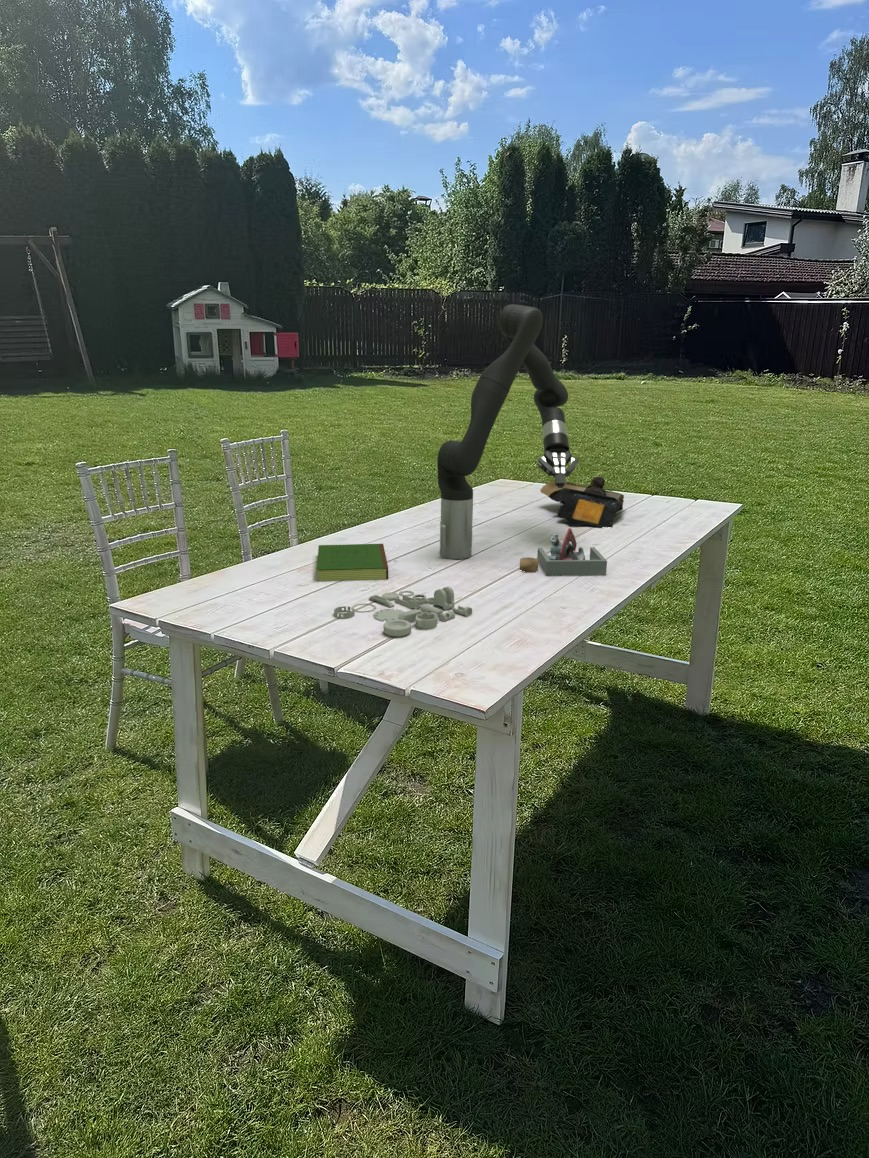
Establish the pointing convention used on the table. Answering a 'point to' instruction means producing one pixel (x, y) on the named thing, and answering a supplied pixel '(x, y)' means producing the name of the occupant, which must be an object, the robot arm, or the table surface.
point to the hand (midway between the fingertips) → (560, 486)
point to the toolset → (585, 503)
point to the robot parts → (400, 620)
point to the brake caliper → (565, 548)
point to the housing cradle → (573, 565)
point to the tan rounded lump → (529, 564)
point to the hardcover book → (351, 562)
